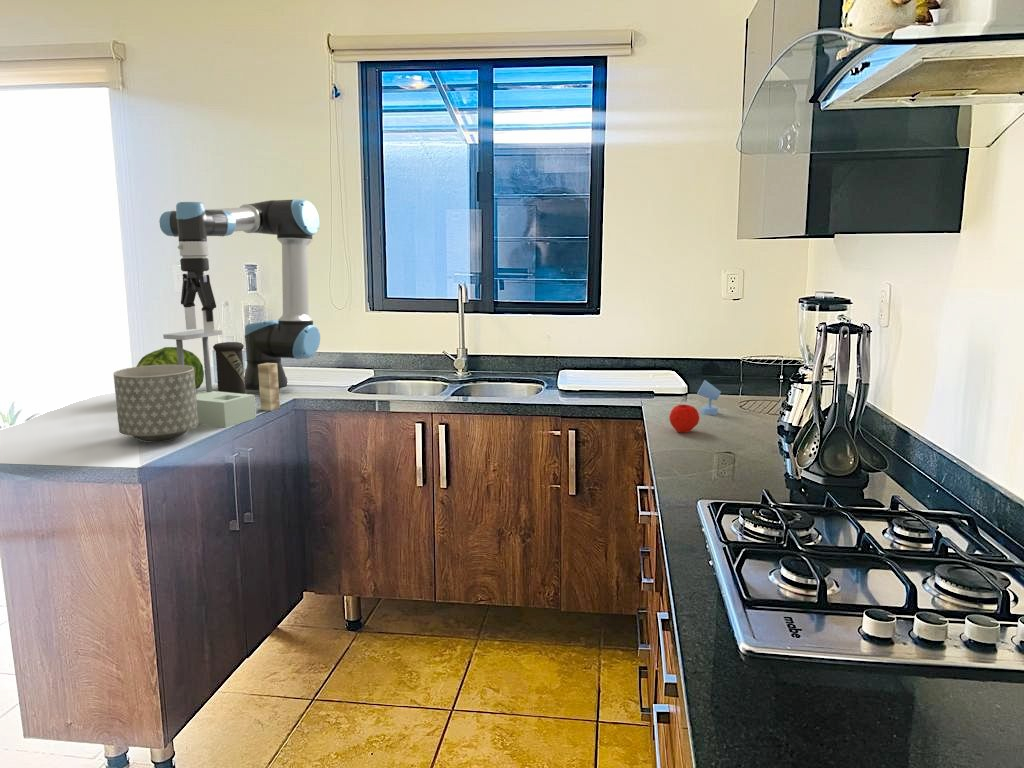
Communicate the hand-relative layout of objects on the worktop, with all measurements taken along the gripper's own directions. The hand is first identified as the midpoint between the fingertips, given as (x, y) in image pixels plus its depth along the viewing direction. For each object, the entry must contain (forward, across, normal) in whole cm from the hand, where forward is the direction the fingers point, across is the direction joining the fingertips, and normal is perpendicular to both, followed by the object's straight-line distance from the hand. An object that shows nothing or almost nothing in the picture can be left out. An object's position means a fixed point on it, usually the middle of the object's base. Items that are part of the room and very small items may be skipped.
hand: (200, 331), depth 227 cm
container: (+25, -9, +12) cm, 29 cm away
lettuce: (+25, -30, -1) cm, 39 cm away
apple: (+26, +109, +86) cm, 141 cm away
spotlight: (+26, +101, +109) cm, 151 cm away
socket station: (+25, +8, 0) cm, 26 cm away
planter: (+25, +19, -20) cm, 37 cm away
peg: (+25, +4, +18) cm, 31 cm away
